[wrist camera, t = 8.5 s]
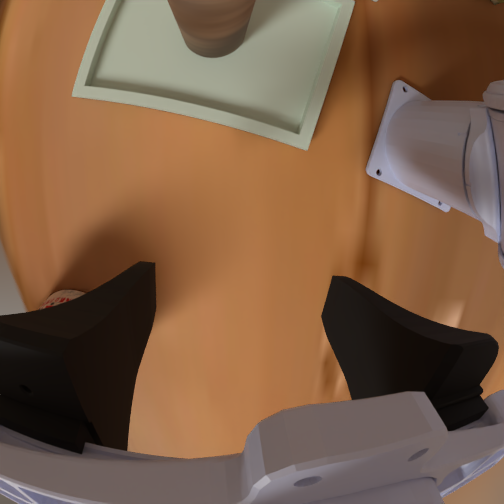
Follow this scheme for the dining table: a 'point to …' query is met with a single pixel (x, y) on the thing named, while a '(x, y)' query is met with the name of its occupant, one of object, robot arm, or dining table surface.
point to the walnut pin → (212, 24)
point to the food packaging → (497, 1)
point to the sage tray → (220, 65)
